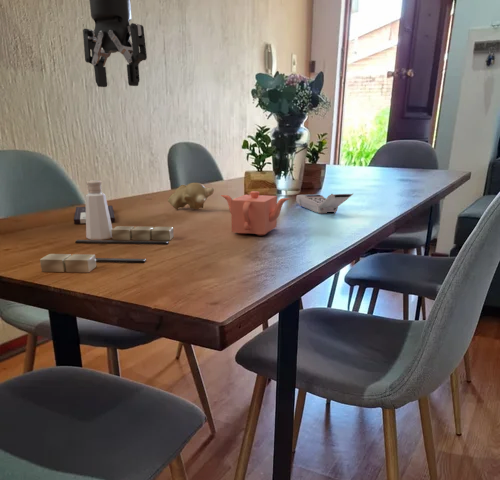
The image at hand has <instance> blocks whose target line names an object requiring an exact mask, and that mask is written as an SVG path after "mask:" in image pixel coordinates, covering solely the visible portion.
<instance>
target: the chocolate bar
mask: <svg viewBox="0 0 500 480" xmlns="http://www.w3.org/2000/svg"><path fill="white" fill-rule="evenodd" d="M108 210H109V215H110V219H111V223H116V217H115V211H114V207H113V205H108ZM73 224H74V225H77V224H78V225H79V224H86V206H76V207H75V211H74V216H73Z"/></svg>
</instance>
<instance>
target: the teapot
mask: <svg viewBox="0 0 500 480" xmlns="http://www.w3.org/2000/svg"><path fill="white" fill-rule="evenodd" d="M220 196H221V197H222V198H224V199H225V200H226V202H227V205H228V209H229V213H230V216H231V218H230V219H231V233H238V234H239V235H247V234H253V235H254V234H255V235H256V236H261V237H263V236H265V235H266V234H268V233H270V232H271V231H272V230H274V229H275V228H277V225H278V224H277V223H278V221H277V220H278V218H279V217H280V214H281V211H282V208H283V205H284V203H285V202H287V201H288V200H291V198H288V197H284V198H280V199H279V200H278V196H277V195H267V194H266V195H265V194H264V195H263V194H260V191H257V190H253V191H249V194H243V195H241V196H237V197H235V198H233V197H231V196H230V195H225V194H221V195H220Z"/></svg>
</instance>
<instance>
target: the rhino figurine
mask: <svg viewBox="0 0 500 480" xmlns="http://www.w3.org/2000/svg"><path fill="white" fill-rule="evenodd" d="M214 192H215V188H214V187H205V186H204V185H203V184H202V183H200V182H190V183H187V185H185V184H181V185H179V187H178V188H176V189H175V190H174V193H172V194H170V196H169V197H168V199H167V202H168V203H169V204H170V206H172V207H173V208H174V209H175V210H176V211H178V210H179V209H181V208H184V207H186V206H187V205H188V207H189V208H190V209H192V210H199V209H204V206H205V203H206V201H207V199H208V198H209V197H210V196H212V195H213V194H214Z"/></svg>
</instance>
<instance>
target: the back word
mask: <svg viewBox="0 0 500 480" xmlns="http://www.w3.org/2000/svg"><path fill="white" fill-rule="evenodd" d="M111 232H112V238H111V239H105V240H90V239H76V240H75V244H106V245H107V244H114V245H117V244H120V245H169V244H170V242H169V241H171V240H172V239H173V238H175V237H174V236H175V235H174V227H173V226H155V227H154V226H140V225H139V226H138V225H137V226H134V225H130V226H129V225H116V226H115V227H112V230H111Z"/></svg>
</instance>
